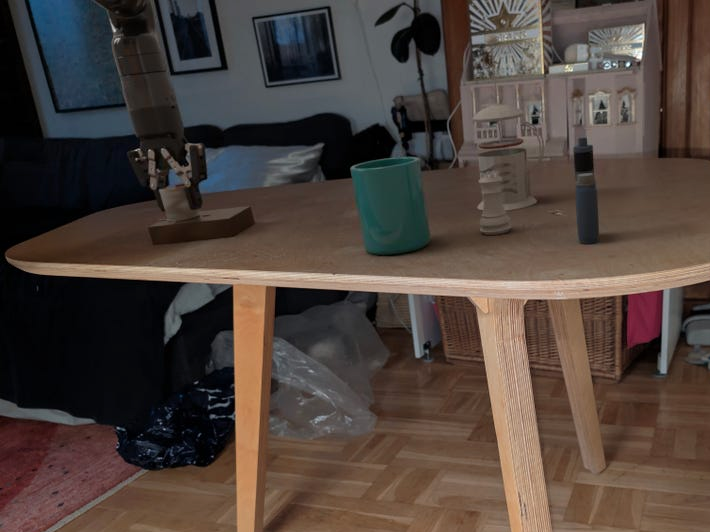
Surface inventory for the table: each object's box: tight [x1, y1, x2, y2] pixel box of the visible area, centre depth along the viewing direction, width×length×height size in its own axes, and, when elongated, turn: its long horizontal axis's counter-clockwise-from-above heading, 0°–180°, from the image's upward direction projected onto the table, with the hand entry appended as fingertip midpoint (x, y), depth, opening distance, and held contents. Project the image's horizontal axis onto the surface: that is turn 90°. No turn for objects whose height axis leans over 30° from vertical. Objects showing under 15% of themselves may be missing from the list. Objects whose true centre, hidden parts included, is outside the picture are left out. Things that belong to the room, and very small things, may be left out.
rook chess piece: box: [478, 171, 512, 236], centre depth 96 cm, size 4×4×8 cm
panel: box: [147, 205, 255, 246], centre depth 120 cm, size 15×10×3 cm
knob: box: [159, 182, 200, 221], centre depth 118 cm, size 5×5×6 cm
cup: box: [349, 156, 431, 256], centre depth 94 cm, size 9×12×11 cm
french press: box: [471, 35, 545, 211], centre depth 108 cm, size 10×12×25 cm
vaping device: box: [572, 137, 600, 245], centre depth 85 cm, size 3×5×12 cm, turn 175°
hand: (182, 209), depth 119 cm, fingers closed on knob, 5 cm apart
